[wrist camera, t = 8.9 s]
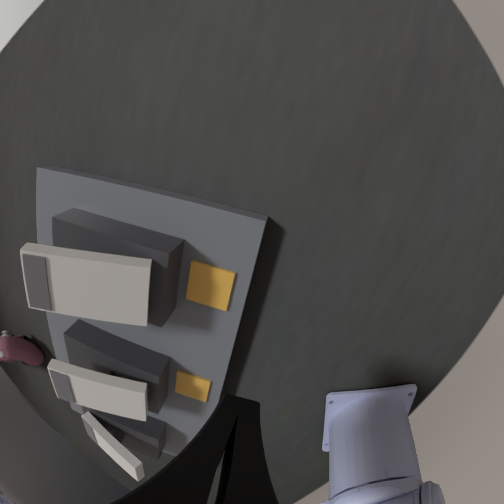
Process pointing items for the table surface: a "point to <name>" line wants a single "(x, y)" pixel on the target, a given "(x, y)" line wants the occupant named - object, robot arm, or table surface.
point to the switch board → (190, 319)
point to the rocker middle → (99, 390)
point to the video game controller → (19, 349)
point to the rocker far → (113, 447)
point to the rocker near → (87, 283)
